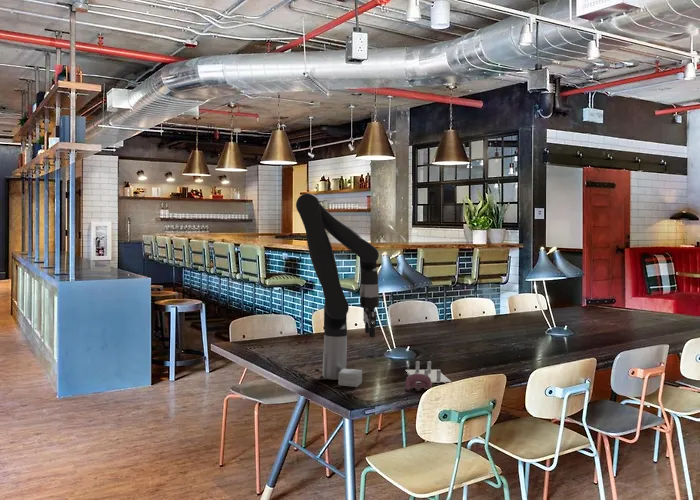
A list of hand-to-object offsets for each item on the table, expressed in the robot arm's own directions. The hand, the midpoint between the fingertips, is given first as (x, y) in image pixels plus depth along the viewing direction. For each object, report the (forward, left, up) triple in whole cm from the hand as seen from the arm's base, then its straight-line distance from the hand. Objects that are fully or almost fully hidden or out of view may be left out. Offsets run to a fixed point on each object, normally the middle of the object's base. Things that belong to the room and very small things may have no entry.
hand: (369, 335), depth 255 cm
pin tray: (+24, -2, -17) cm, 30 cm away
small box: (-9, -10, -18) cm, 22 cm away
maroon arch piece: (+16, -19, -18) cm, 30 cm away
